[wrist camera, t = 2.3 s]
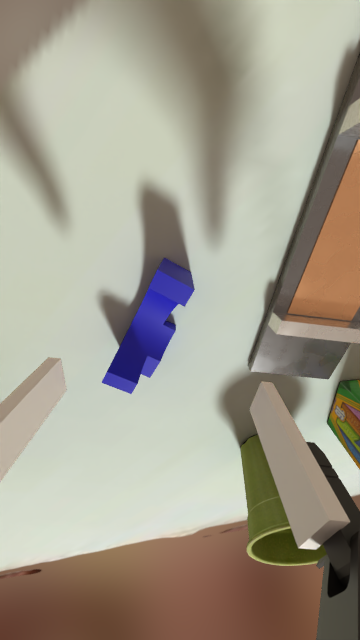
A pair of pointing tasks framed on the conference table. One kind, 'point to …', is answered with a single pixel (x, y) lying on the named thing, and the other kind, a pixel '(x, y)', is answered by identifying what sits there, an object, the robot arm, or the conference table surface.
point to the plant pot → (269, 514)
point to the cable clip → (150, 327)
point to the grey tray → (320, 264)
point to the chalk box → (347, 418)
